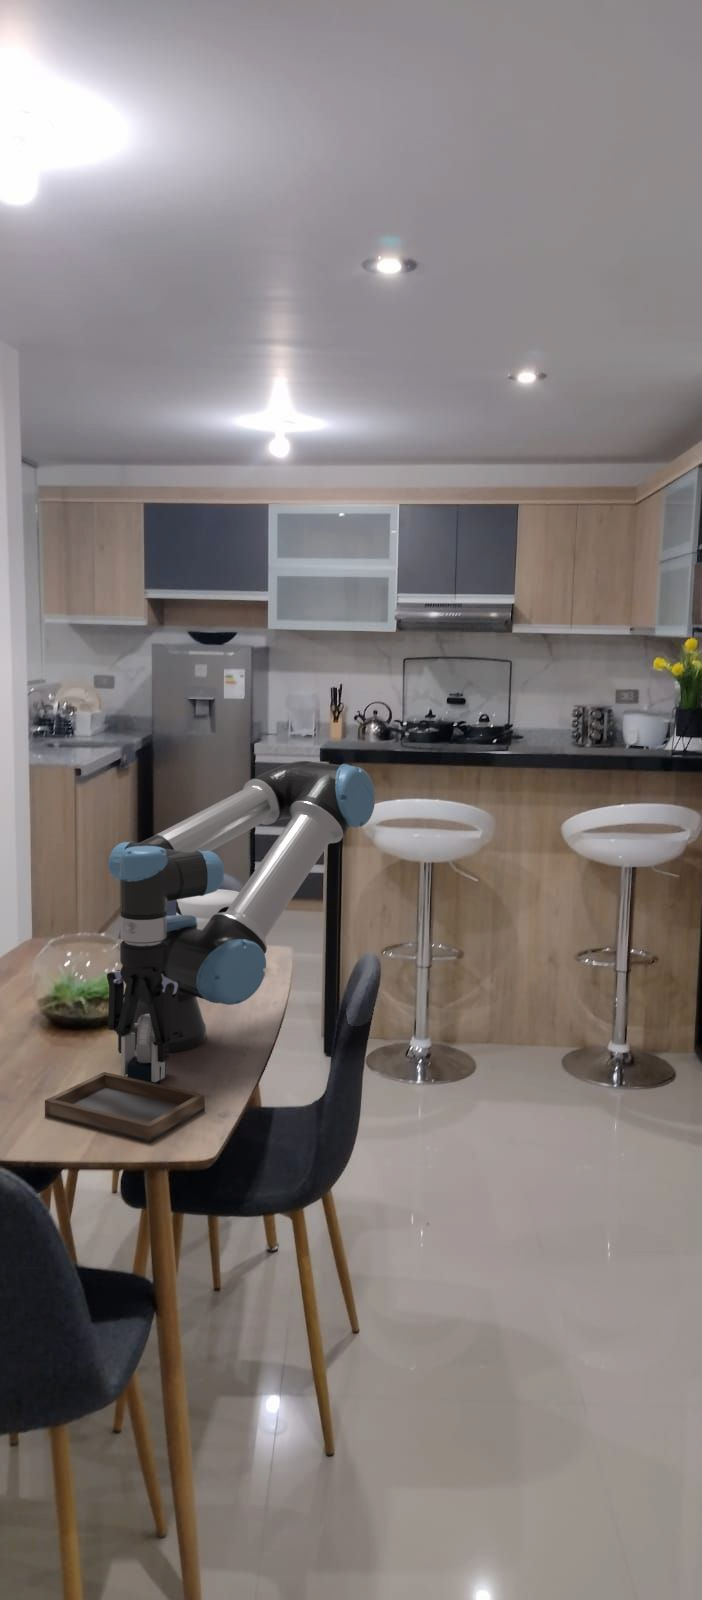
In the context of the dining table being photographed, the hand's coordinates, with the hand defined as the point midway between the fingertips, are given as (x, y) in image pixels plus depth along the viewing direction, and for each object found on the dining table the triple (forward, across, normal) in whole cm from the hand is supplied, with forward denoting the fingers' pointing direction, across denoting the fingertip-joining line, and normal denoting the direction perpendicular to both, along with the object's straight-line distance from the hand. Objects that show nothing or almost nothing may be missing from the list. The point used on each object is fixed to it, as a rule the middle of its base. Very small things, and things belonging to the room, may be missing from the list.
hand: (143, 1075), depth 188 cm
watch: (+1, 0, +1) cm, 1 cm away
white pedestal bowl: (+1, -27, +60) cm, 66 cm away
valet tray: (+1, +6, -12) cm, 14 cm away
